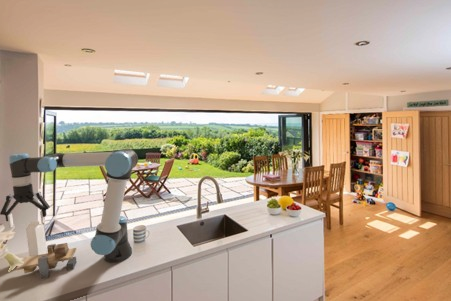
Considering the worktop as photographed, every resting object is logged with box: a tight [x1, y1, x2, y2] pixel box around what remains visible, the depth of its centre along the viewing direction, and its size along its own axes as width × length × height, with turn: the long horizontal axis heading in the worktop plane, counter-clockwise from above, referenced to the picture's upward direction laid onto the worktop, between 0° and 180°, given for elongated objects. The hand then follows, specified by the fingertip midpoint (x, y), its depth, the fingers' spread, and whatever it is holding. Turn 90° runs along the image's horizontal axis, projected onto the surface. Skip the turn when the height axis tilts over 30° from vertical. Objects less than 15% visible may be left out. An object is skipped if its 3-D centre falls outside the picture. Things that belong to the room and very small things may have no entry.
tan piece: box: [16, 247, 77, 274], centre depth 132 cm, size 24×11×9 cm, turn 108°
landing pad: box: [66, 256, 77, 271], centre depth 136 cm, size 3×7×4 cm, turn 18°
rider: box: [54, 242, 69, 258], centre depth 133 cm, size 5×5×5 cm
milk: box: [25, 220, 48, 257], centre depth 145 cm, size 6×6×22 cm
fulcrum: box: [38, 243, 57, 280], centre depth 132 cm, size 4×15×11 cm, turn 19°
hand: (27, 224), depth 127 cm, fingers open, 13 cm apart
